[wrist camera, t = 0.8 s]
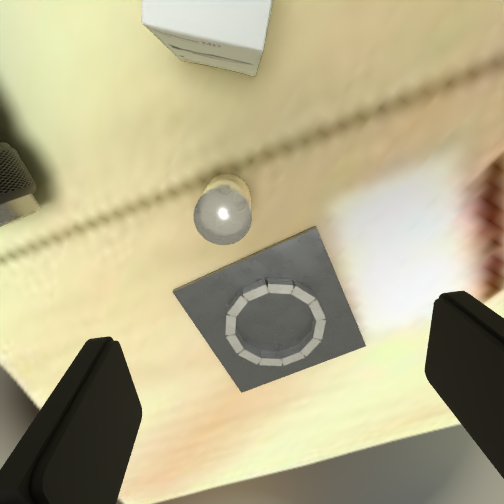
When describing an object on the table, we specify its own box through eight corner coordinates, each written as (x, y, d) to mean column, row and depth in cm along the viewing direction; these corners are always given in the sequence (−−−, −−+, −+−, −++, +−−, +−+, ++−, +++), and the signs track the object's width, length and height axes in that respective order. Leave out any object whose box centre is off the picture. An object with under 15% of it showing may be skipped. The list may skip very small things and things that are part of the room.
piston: (237, 165, 32) (235, 179, 25) (257, 206, 34) (261, 230, 27) (196, 186, 33) (182, 205, 26) (218, 225, 35) (211, 253, 28)
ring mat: (315, 226, 35) (319, 232, 33) (364, 343, 42) (370, 353, 40) (173, 289, 38) (170, 298, 36) (241, 389, 45) (241, 401, 43)
